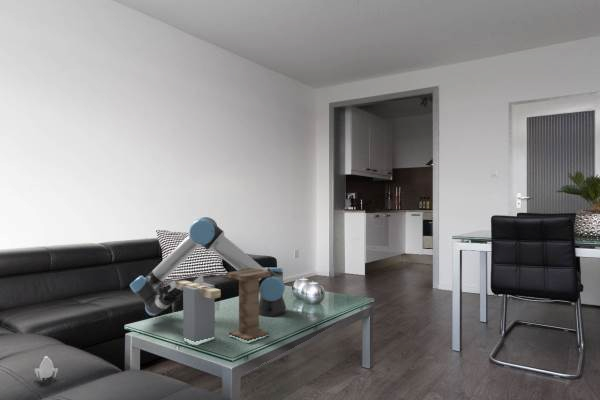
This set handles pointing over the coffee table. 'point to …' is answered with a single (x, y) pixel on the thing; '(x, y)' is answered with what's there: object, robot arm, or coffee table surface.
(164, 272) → the robot arm
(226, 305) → the coffee table surface
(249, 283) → the walnut stand
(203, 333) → the slotted block
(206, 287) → the birch bar
